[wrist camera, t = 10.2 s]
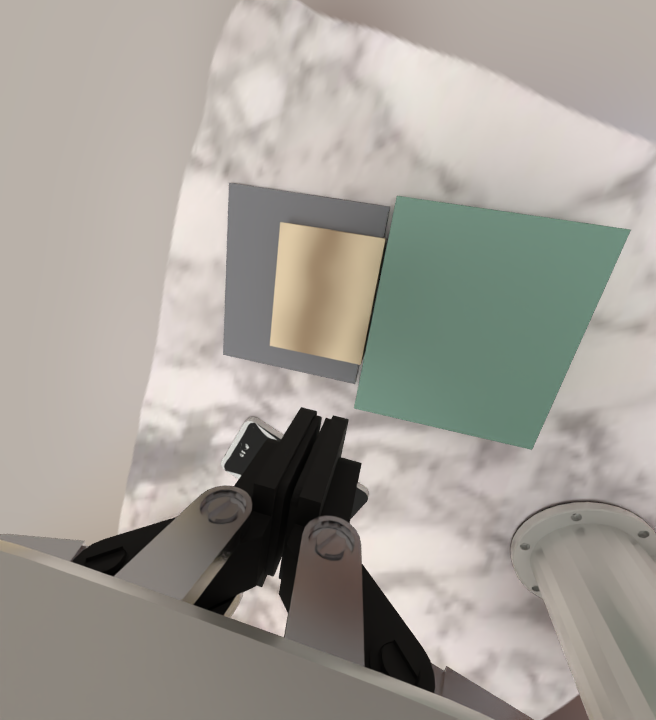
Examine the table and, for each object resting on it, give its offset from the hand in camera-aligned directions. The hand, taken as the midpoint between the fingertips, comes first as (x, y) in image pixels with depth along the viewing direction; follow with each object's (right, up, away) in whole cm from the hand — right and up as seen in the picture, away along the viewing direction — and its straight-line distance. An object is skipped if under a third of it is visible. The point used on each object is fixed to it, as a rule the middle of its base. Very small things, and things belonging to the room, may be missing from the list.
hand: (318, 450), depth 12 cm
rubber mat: (-2, +9, +18) cm, 20 cm away
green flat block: (+11, +6, +16) cm, 21 cm away
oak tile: (0, +9, +17) cm, 19 cm away
